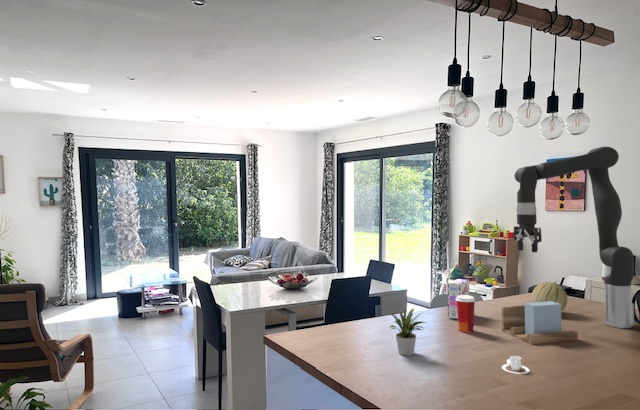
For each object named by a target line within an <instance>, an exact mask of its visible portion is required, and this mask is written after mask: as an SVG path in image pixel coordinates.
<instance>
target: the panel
mask: <svg viewBox="0 0 640 410" xmlns="http://www.w3.org/2000/svg"><path fill="white" fill-rule="evenodd" d="M524 305H525V334H526V335H528V334H539V333H551V332H563V331H562V311H561V304H559V303H556V302H552V301H548V302H534V303H533V302H525V303H524Z"/></svg>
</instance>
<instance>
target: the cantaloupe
mask: <svg viewBox="0 0 640 410" xmlns="http://www.w3.org/2000/svg"><path fill="white" fill-rule="evenodd" d="M531 300H532V303H534V302H548V301H552V302H556V303H559V304H561V312H563V310H565V308H566V307H567V304H568V295H567V292H566V291H565V289H564V288H563V287H562V286H560V285H559V284H557V282H556V281H554V282H550V281H543V282H541V283H539V284H537V285H535V287H534V288H533V290H532V294H531Z"/></svg>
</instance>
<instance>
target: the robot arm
mask: <svg viewBox="0 0 640 410" xmlns="http://www.w3.org/2000/svg"><path fill="white" fill-rule="evenodd" d="M619 156H620V155H619V152H618V151H617V150H616V149H615V148H613V147H611V146H599V147H595V148H593V149H590V150H589V151H588V152H587V153H585V154H580V155H577V156H573V157H572V156H571V157H565V158H561V159H560V158H559V159H558V158H557V159H554V160H549V161H546V162H545V161H544V162H542V163H538V164H534V165H530V166H523V167H520V168H518V169H517V170H516V171H515V173H514V179H515V181H516V182H517V183H519V189H518V190H517V192H516V203H517V204H516V224H517V226H513V240H514V241H516V244H517V250H518V251H524V239H525V238H528V239H529V240H530V242H531V253H537V252H538V250H539V246H538V245H539V243H541V242H542V240H543V239H542V228H541V227H536V225H537V204H536V189H537V184H538V181H539V180H546V179H552V178H557V177H562V176H565V175H569V174H572V173H575V172H579V171H580V172H581V171H585V170H587V171H588V175H589V178H590V183H591V190H592V191H591V192H592V196H593V204H594V211H595V216H596V222H597V232H598V249H599V251H598V253H599V259H600V262H601V263H602V264H603V265H604V266H607V267H609V268H610V273H609V274H608V275H605V276H604V282H603V283H604V284H603V285H604V320H605V321H604V323H605V325H607V326H609V327H612V328H619V329H631V328H632V327H635V310H634V309H635V308H634V303H633V302H632V281H633V279H634V276H635V275H634V273H635V256H634V253H633V251H632V250H631V249H630V248H629V247H625V246H621V245H620V246H619V242H618V237H617V236H618V235H617V233H618V229H619V225H620V223H621V220H622V216H623V211H622V210H623V209H622V203H621V200H620V199H621V198H620V196H619V193H618V192H617V190H616V189H615V187H614V185H613V183H612V182H611V179H610V174H609V169H610V168H612V167H614V166H615V165H616V164H617V163H618V161H619V158H620V157H619Z"/></svg>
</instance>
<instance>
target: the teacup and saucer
mask: <svg viewBox="0 0 640 410" xmlns="http://www.w3.org/2000/svg"><path fill="white" fill-rule="evenodd" d="M508 366H509V367H511V369H512V370H513V371H512V370H511V371H510V370H508V369H507V367H508ZM521 368H523V369H524V370H525V371H523V372H522V371H521V372H515V371H520V370H521ZM501 369H502V370H503V371H505V372H508V373H511V374H516V375H517V374H518V375H524V374H525V375H526V374H528V373H530V369H529V368H528V367H527V366H525V365H522V357H520V356H519V355H510V356H509V358H508V359H507V360H506V364H503V365H502V366H501Z"/></svg>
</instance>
